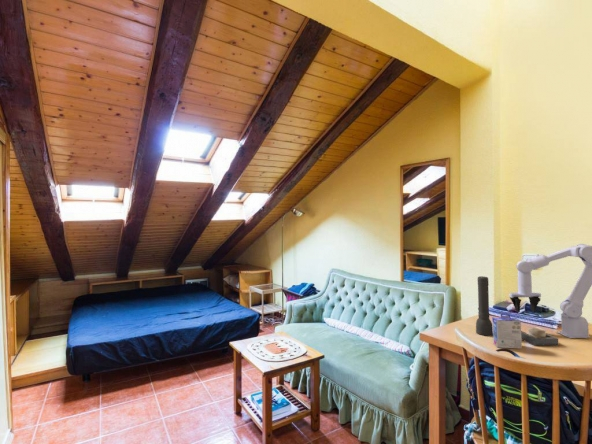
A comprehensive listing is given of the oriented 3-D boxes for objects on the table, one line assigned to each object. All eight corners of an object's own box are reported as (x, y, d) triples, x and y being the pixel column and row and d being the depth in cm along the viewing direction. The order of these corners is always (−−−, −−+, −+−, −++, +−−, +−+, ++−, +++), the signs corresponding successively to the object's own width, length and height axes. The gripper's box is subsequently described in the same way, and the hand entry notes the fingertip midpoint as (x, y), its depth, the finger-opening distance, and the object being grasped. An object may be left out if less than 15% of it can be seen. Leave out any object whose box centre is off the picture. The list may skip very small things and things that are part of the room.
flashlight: (481, 330, 161) (473, 332, 158) (480, 275, 161) (471, 276, 158) (495, 334, 155) (487, 337, 152) (494, 277, 155) (485, 278, 152)
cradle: (540, 337, 150) (540, 330, 150) (558, 345, 140) (558, 338, 140) (518, 337, 150) (518, 330, 150) (534, 345, 140) (534, 338, 140)
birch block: (538, 337, 147) (538, 327, 147) (545, 341, 143) (545, 330, 143) (528, 338, 148) (528, 327, 148) (535, 341, 143) (535, 330, 143)
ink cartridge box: (516, 344, 142) (515, 312, 142) (522, 349, 137) (521, 315, 137) (492, 343, 144) (491, 311, 144) (497, 347, 139) (496, 314, 139)
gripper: (533, 282, 164) (534, 309, 164) (505, 283, 164) (505, 309, 164) (543, 285, 157) (544, 313, 157) (514, 286, 157) (514, 313, 157)
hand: (525, 311), depth 160 cm, fingers open, 7 cm apart
